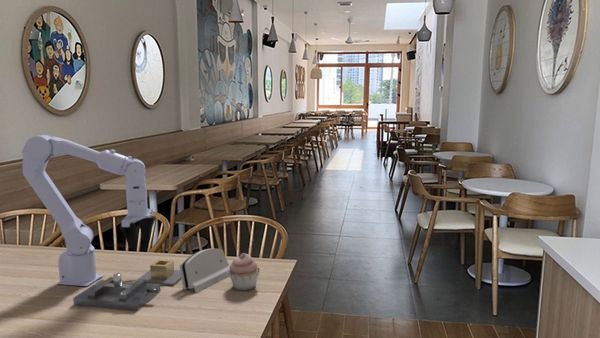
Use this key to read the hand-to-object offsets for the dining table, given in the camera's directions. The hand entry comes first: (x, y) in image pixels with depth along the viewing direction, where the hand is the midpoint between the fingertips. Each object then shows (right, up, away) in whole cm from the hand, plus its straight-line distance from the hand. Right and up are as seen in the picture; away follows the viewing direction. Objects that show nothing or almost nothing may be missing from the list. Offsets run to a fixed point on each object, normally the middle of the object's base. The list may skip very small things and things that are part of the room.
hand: (139, 243), depth 137 cm
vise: (+1, -12, -16) cm, 20 cm away
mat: (+8, -10, -2) cm, 13 cm away
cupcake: (+33, -11, -8) cm, 36 cm away
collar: (+8, -9, -2) cm, 12 cm away
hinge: (+21, -10, -4) cm, 24 cm away
